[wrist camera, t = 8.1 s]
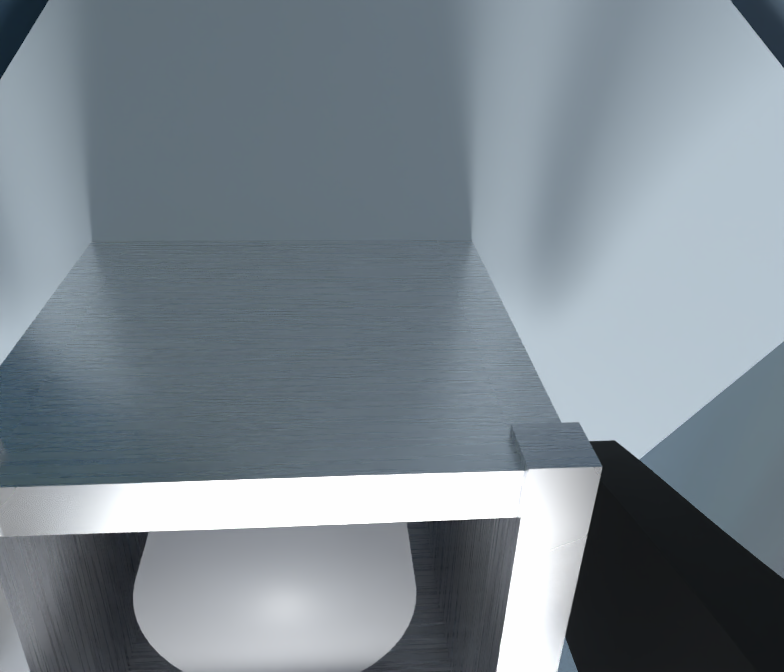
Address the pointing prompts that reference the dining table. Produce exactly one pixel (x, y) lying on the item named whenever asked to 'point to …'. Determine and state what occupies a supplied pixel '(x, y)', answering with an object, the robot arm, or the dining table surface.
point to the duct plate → (410, 225)
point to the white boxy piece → (286, 441)
